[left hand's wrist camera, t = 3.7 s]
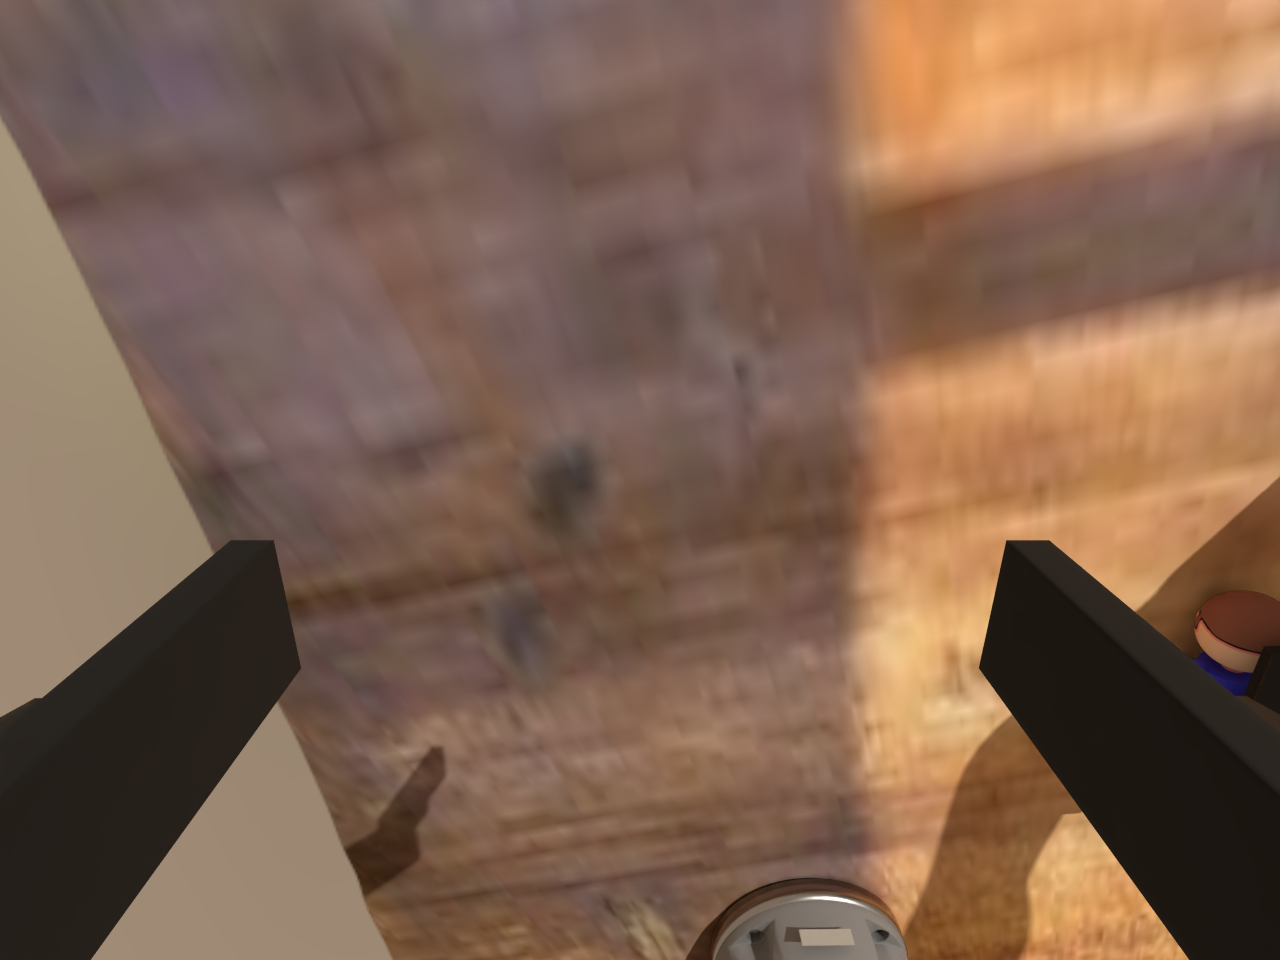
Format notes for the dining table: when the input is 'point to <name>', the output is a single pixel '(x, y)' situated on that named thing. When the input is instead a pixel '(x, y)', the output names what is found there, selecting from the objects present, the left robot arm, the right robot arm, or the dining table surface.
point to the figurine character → (1242, 644)
